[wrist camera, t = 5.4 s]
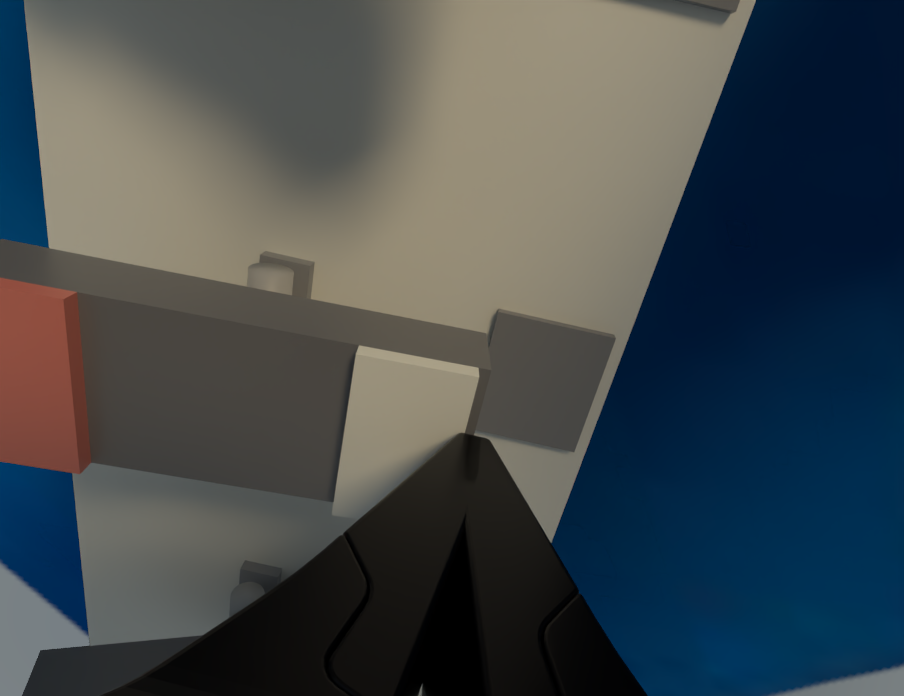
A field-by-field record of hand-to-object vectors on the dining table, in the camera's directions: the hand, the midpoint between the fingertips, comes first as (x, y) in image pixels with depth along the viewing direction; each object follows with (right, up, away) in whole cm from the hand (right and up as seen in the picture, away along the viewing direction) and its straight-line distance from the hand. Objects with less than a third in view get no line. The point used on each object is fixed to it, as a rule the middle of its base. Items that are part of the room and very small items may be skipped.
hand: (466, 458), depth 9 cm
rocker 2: (-4, +2, +2) cm, 5 cm away
